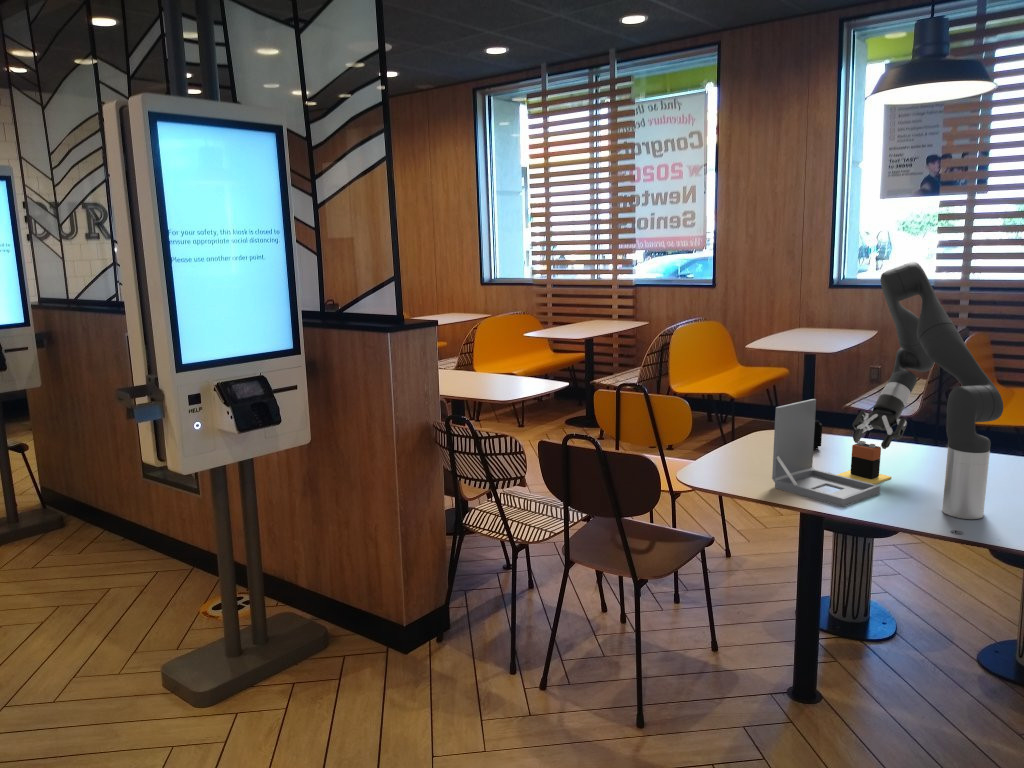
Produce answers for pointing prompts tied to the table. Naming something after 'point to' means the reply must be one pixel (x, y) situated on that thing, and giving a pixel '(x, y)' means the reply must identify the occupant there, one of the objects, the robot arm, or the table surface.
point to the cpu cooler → (817, 434)
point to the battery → (865, 460)
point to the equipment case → (808, 459)
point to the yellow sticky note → (872, 481)
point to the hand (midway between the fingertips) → (869, 444)
